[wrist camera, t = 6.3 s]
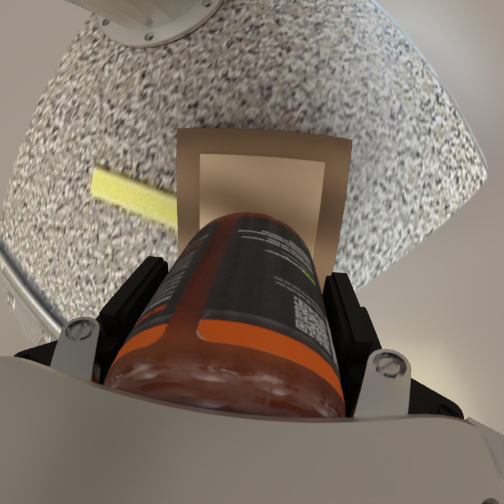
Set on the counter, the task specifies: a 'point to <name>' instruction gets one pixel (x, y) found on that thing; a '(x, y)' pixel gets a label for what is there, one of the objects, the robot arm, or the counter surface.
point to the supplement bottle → (237, 327)
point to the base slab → (265, 183)
